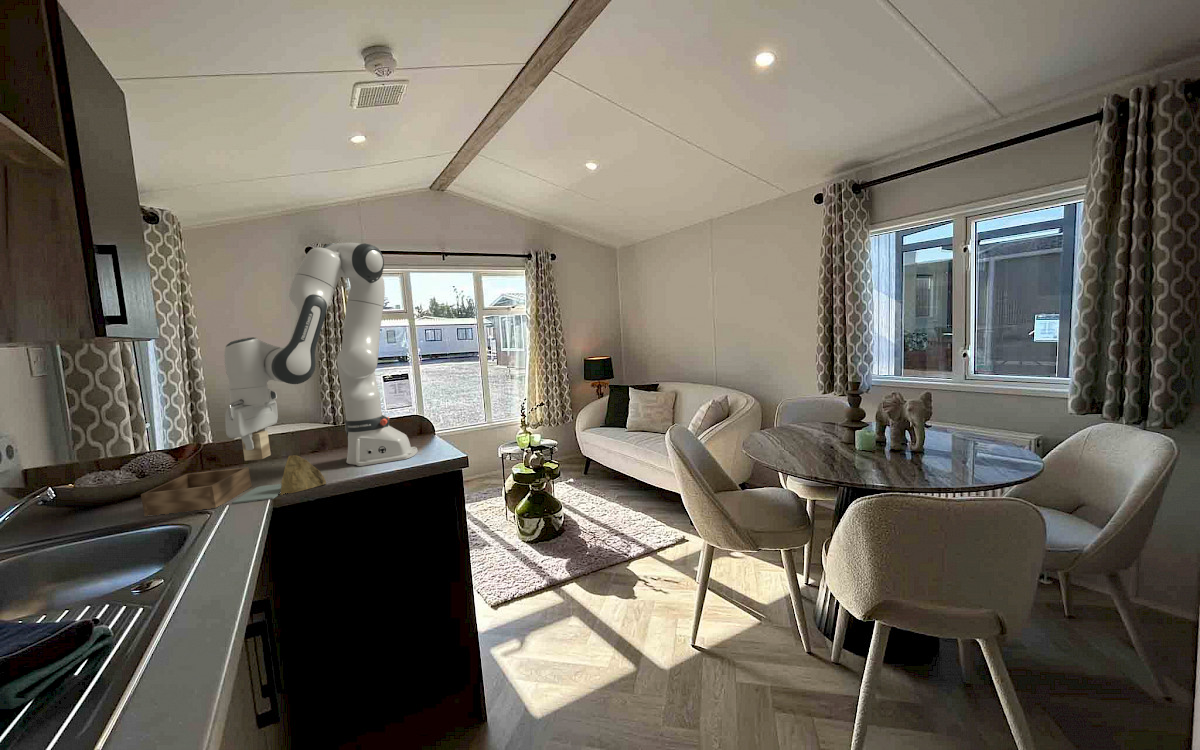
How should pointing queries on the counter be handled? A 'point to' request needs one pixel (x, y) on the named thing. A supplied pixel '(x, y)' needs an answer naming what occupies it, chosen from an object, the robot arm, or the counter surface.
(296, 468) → the rock
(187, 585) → the counter surface
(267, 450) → the block
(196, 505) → the crate
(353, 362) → the robot arm
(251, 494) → the mat
